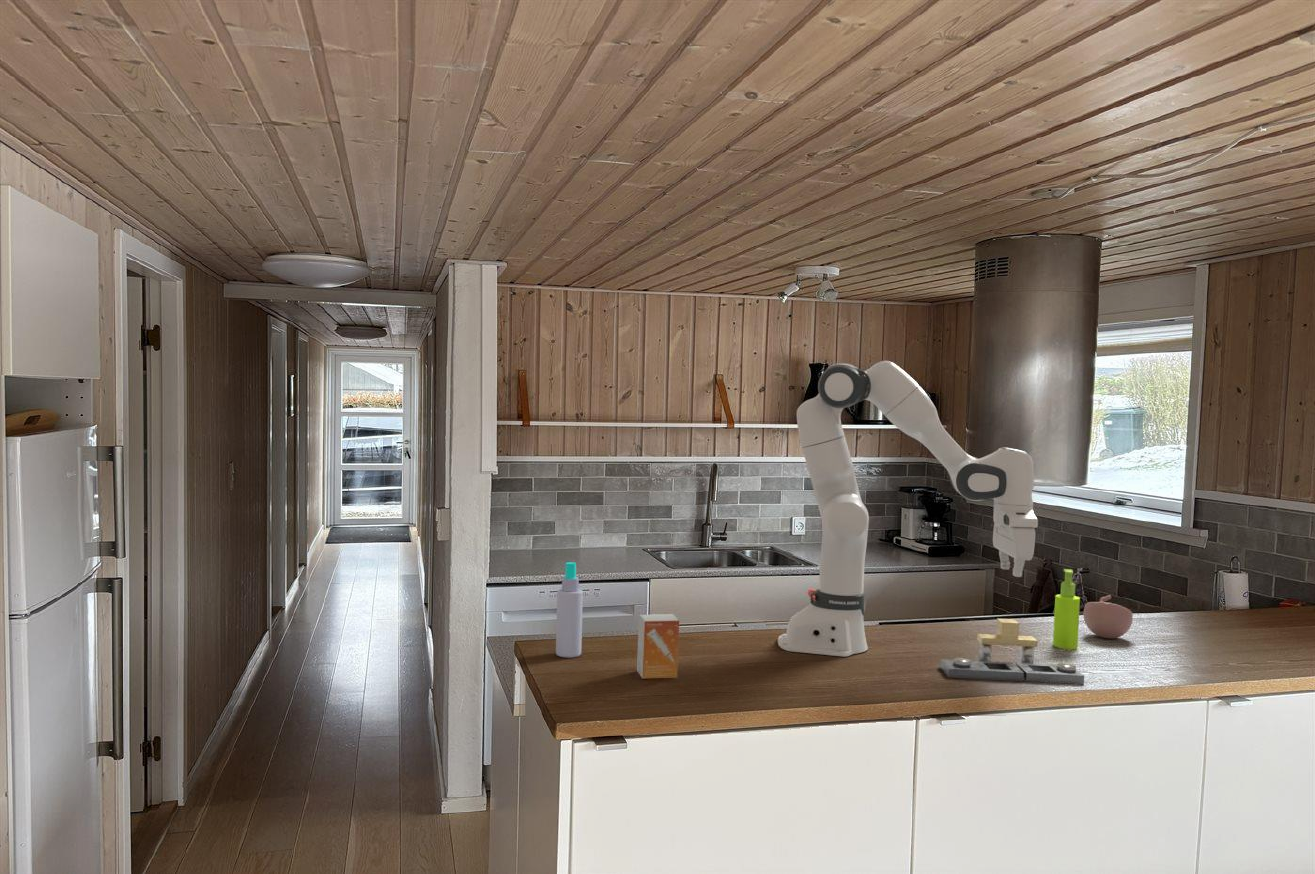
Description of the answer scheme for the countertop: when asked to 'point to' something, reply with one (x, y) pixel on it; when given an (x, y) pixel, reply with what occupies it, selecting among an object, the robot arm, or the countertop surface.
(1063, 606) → the soap dispenser
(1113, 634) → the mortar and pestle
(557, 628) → the spray bottle
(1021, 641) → the tan bridge piece
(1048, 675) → the right chain end
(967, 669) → the plate
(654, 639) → the small box
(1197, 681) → the countertop surface
